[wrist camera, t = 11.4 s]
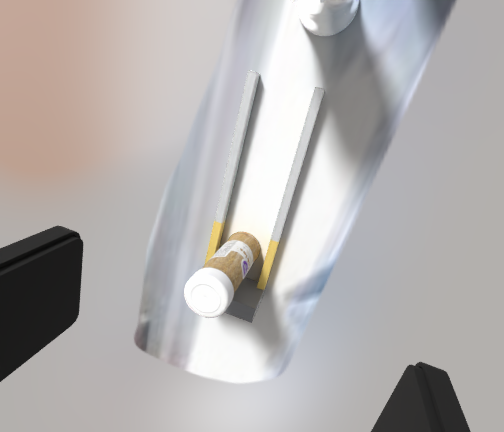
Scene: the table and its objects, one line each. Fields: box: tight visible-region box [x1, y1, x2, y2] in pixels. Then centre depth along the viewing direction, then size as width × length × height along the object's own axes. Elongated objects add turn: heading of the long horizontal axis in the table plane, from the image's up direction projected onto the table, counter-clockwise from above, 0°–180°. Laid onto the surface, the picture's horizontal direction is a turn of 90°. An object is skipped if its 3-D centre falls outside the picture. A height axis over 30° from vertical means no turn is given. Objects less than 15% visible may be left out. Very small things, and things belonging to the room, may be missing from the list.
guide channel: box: [205, 70, 325, 323], centre depth 38 cm, size 27×8×6 cm, turn 165°
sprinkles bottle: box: [184, 232, 260, 318], centre depth 37 cm, size 5×5×13 cm
